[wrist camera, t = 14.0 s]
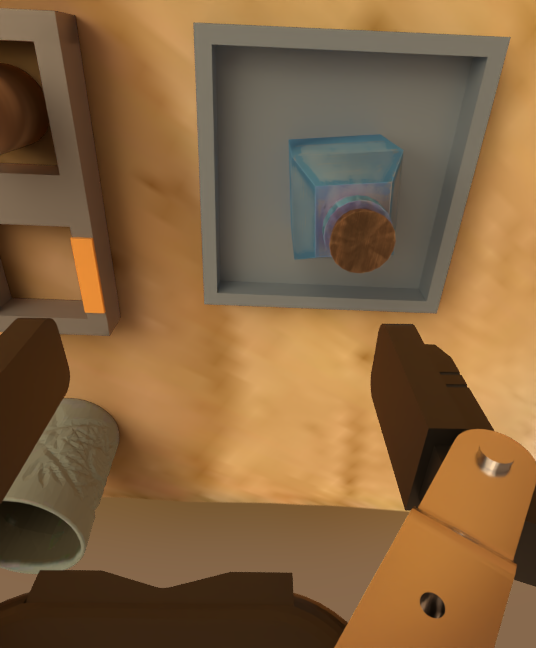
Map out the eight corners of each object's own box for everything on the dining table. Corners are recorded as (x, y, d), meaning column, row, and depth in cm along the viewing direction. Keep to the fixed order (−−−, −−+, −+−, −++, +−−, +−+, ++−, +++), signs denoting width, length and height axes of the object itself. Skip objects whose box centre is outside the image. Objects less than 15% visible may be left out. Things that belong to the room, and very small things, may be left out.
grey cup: (141, 416, 44) (100, 525, 34) (109, 477, 49) (65, 589, 38) (39, 377, 42) (-38, 481, 31) (16, 444, 46) (-58, 554, 36)
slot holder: (-96, 7, 27) (-140, 1, 24) (75, 15, 27) (52, 10, 24) (-2, 312, 38) (-24, 332, 35) (120, 317, 38) (108, 337, 35)
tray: (200, 26, 28) (193, 22, 25) (488, 39, 28) (510, 37, 25) (209, 287, 37) (204, 304, 34) (425, 295, 37) (436, 313, 34)
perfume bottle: (288, 139, 30) (296, 180, 20) (380, 134, 30) (436, 172, 20) (291, 227, 33) (298, 302, 23) (374, 223, 33) (419, 297, 23)
